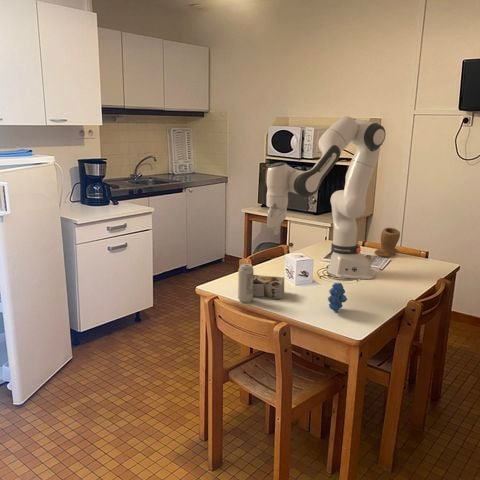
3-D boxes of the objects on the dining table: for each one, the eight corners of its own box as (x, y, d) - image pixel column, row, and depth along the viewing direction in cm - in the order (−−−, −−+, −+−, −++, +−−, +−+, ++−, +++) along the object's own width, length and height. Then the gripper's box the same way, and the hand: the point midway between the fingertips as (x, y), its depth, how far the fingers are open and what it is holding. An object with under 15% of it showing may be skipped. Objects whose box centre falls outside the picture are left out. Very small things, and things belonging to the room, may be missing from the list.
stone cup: (392, 260, 253) (394, 232, 249) (371, 255, 261) (373, 228, 257) (404, 254, 264) (406, 227, 260) (383, 250, 272) (386, 224, 268)
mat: (283, 290, 208) (283, 289, 207) (277, 300, 197) (277, 299, 196) (248, 285, 212) (248, 284, 212) (240, 295, 201) (240, 294, 201)
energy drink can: (244, 296, 200) (244, 262, 196) (255, 300, 196) (256, 265, 192) (235, 300, 195) (235, 265, 191) (246, 304, 191) (247, 268, 188)
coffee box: (282, 284, 195) (243, 280, 198) (281, 298, 197) (242, 295, 200) (284, 276, 204) (247, 273, 207) (284, 290, 206) (247, 287, 209)
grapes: (339, 319, 179) (341, 288, 176) (323, 314, 183) (324, 284, 180) (352, 309, 188) (354, 280, 185) (336, 305, 192) (338, 276, 189)
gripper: (278, 206, 191) (278, 240, 195) (289, 198, 210) (288, 228, 213) (263, 206, 193) (263, 239, 196) (275, 197, 212) (275, 228, 215)
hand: (276, 233), depth 205 cm, fingers closed
